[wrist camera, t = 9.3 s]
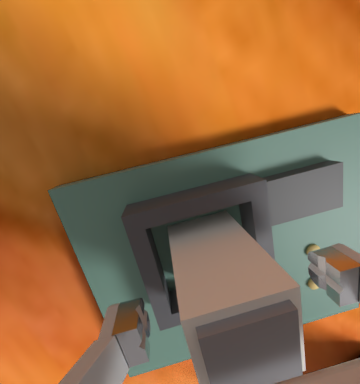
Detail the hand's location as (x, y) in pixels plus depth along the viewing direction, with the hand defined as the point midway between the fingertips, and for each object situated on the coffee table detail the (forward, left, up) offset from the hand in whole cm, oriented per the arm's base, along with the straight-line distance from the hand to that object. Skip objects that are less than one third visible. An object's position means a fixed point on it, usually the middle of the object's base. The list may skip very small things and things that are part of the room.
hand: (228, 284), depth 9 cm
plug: (0, 0, -4) cm, 4 cm away
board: (-2, +2, -6) cm, 6 cm away
